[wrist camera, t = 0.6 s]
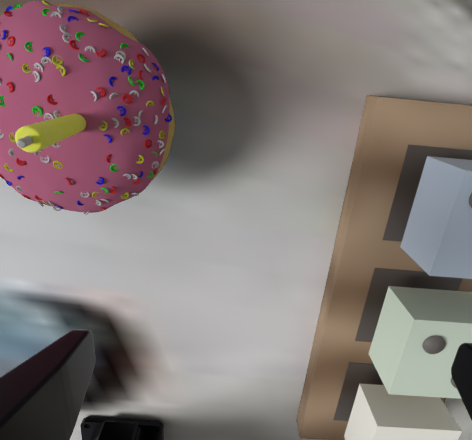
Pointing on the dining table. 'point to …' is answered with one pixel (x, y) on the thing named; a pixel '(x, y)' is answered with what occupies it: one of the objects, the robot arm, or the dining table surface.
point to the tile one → (399, 417)
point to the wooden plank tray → (375, 250)
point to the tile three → (442, 219)
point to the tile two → (421, 340)
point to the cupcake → (79, 108)
